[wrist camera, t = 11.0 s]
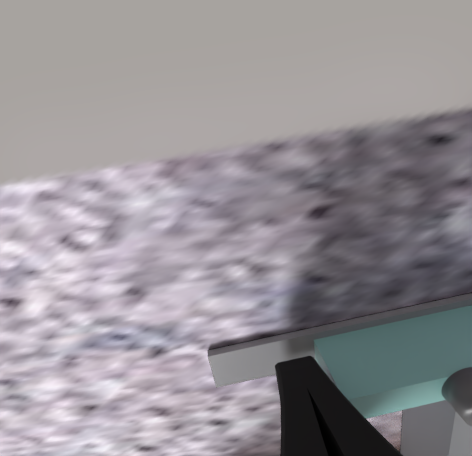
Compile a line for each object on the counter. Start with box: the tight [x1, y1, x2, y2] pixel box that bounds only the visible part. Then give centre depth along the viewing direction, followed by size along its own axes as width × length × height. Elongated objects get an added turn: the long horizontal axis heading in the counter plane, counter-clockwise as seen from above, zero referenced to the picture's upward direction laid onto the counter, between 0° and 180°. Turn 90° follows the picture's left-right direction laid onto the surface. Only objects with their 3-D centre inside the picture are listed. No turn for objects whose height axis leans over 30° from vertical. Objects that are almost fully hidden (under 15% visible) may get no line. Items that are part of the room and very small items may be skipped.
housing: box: [208, 293, 472, 456], centre depth 12 cm, size 18×11×2 cm, turn 101°
